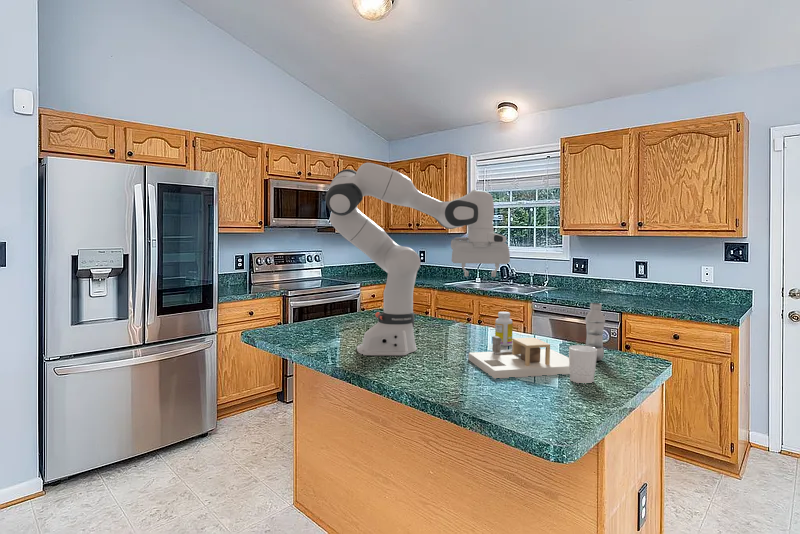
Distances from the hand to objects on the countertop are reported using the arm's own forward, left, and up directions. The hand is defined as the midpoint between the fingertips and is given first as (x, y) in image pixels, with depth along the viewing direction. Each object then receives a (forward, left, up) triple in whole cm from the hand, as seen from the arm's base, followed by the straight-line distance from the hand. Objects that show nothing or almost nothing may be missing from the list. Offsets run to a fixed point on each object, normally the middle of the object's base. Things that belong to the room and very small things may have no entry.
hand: (480, 276), depth 168 cm
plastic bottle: (+38, -12, -29) cm, 49 cm away
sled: (+8, -12, -26) cm, 30 cm away
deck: (+11, -14, -29) cm, 34 cm away
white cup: (+20, -32, -29) cm, 48 cm away
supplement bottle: (+17, +16, -29) cm, 37 cm away
